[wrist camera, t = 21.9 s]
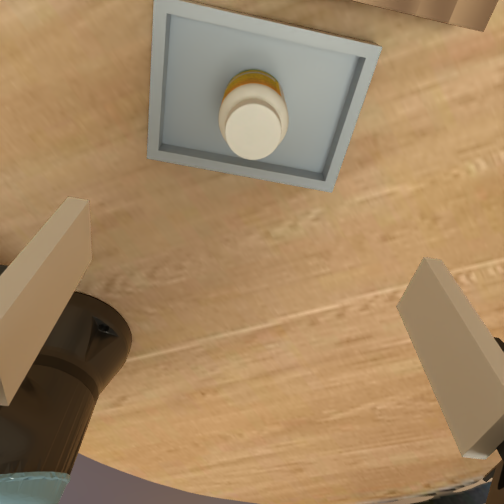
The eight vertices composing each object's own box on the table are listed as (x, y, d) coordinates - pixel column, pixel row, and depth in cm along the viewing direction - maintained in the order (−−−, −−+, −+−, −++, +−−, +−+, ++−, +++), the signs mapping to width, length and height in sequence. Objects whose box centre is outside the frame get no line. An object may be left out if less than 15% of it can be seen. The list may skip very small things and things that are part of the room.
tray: (152, 149, 38) (146, 158, 36) (160, -7, 31) (154, -6, 29) (327, 181, 40) (332, 192, 38) (374, 42, 33) (382, 47, 31)
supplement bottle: (293, 111, 36) (304, 149, 28) (242, 139, 37) (239, 182, 29) (266, 54, 33) (270, 77, 25) (212, 86, 35) (200, 118, 27)
